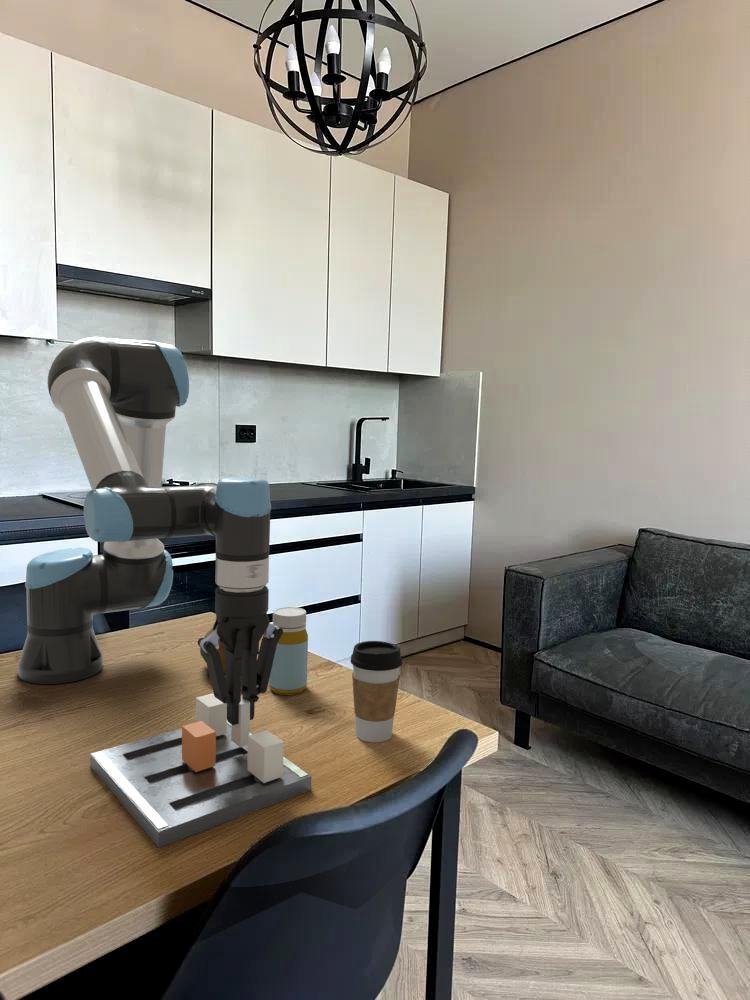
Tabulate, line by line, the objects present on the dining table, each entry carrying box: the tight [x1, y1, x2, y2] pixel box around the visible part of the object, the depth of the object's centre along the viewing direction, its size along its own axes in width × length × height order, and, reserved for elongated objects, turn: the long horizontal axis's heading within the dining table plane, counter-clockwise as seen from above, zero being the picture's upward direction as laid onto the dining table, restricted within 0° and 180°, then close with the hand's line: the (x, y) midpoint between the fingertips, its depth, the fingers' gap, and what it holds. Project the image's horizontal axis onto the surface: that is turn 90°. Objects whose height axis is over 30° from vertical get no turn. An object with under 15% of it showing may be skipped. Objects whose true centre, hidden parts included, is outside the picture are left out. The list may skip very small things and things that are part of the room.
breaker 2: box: [247, 729, 285, 783], centre depth 98 cm, size 4×3×6 cm
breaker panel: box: [89, 721, 312, 848], centre depth 100 cm, size 24×22×2 cm
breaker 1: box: [195, 692, 227, 736], centre depth 110 cm, size 4×3×6 cm
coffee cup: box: [350, 640, 403, 743], centre depth 115 cm, size 8×8×15 cm
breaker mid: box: [181, 721, 216, 772], centre depth 100 cm, size 4×3×6 cm
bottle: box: [268, 606, 309, 696], centre depth 133 cm, size 7×7×15 cm
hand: (240, 742), depth 104 cm, fingers closed
